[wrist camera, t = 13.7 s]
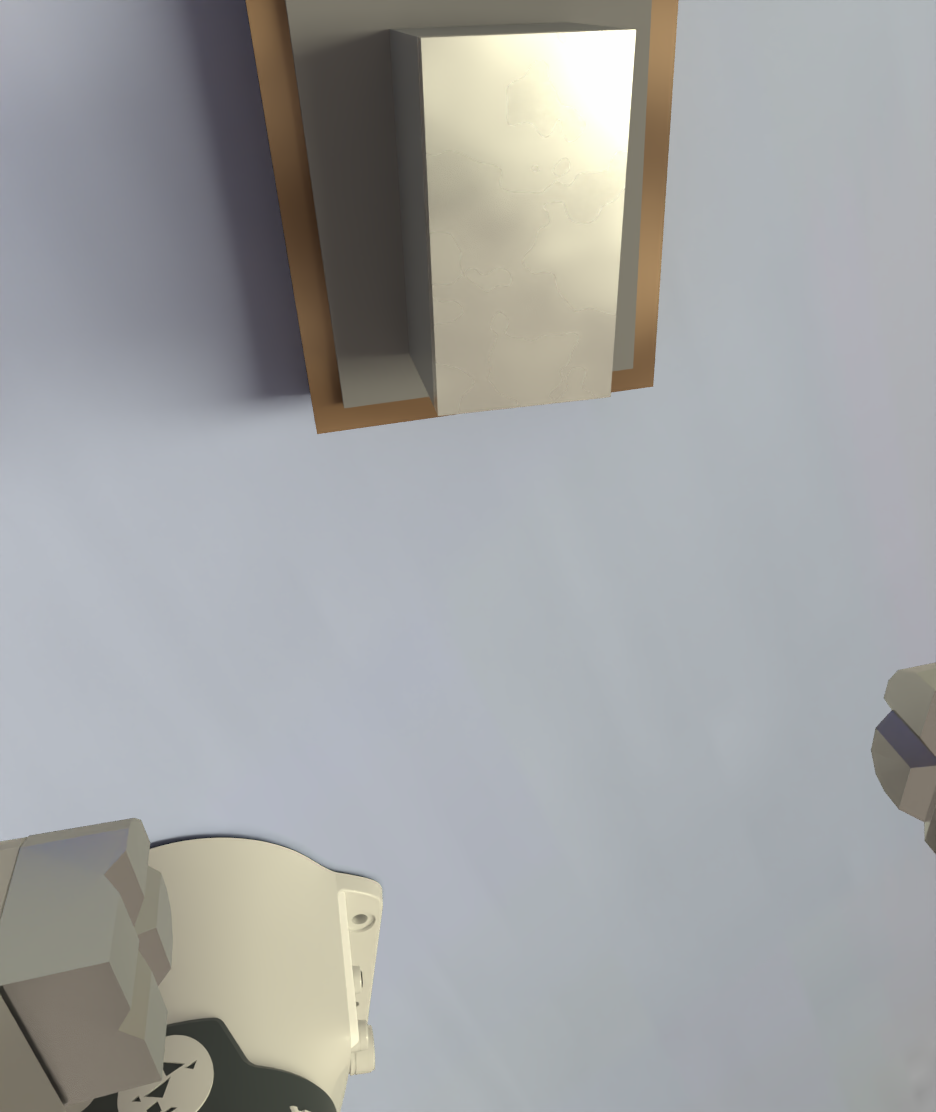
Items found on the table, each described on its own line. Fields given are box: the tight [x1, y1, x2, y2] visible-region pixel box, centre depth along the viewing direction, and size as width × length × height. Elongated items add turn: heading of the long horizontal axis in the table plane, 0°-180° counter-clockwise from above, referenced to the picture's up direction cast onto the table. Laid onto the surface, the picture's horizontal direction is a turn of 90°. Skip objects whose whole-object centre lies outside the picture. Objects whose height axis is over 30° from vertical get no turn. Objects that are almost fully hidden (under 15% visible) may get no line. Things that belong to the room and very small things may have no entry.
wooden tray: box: [245, 0, 678, 434], centre depth 28 cm, size 14×12×4 cm
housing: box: [389, 22, 636, 416], centre depth 24 cm, size 5×9×5 cm, turn 1°
